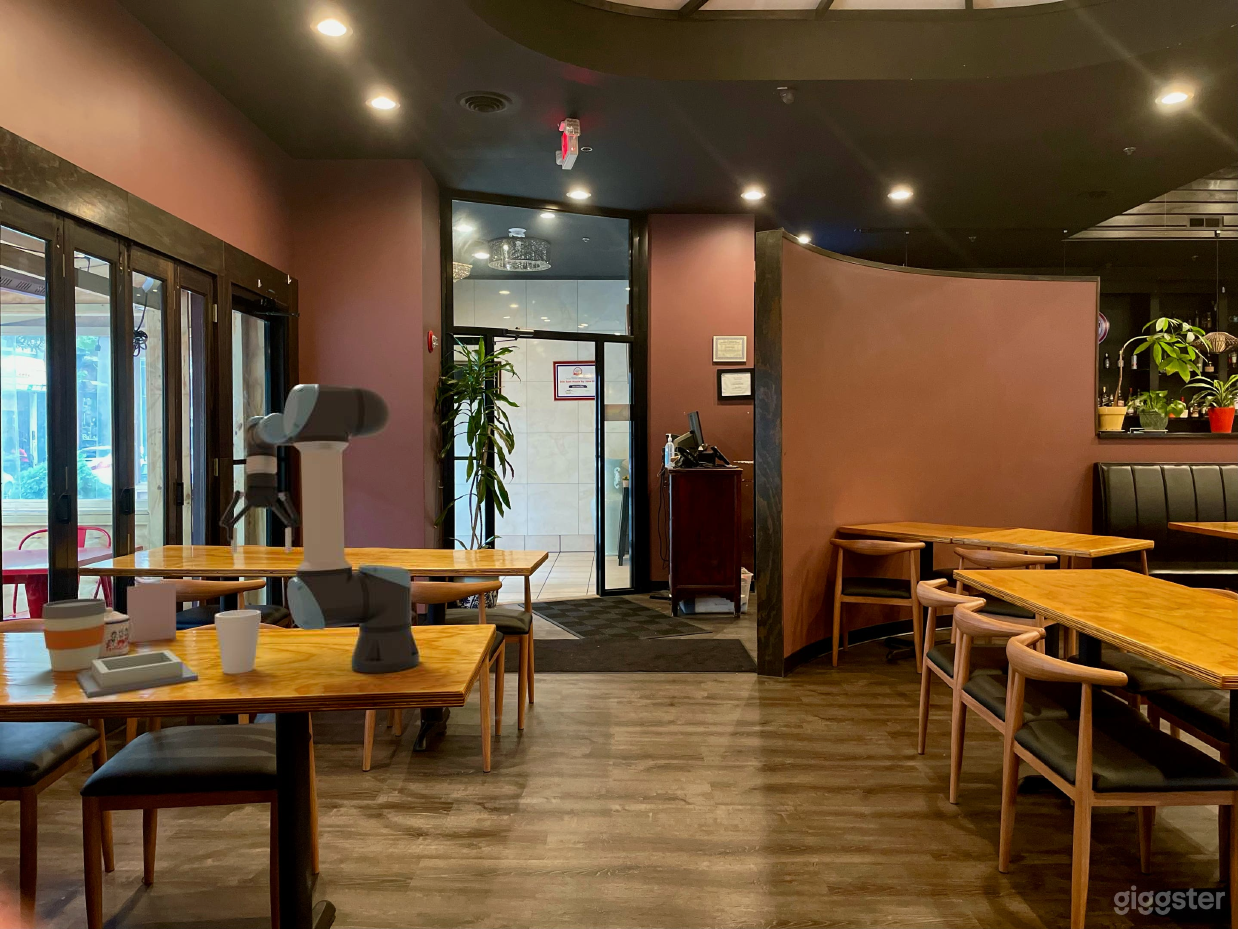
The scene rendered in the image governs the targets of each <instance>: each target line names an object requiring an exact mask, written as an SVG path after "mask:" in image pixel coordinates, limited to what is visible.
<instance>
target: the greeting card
mask: <svg viewBox="0 0 1238 929" xmlns="http://www.w3.org/2000/svg"><path fill="white" fill-rule="evenodd" d="M176 584H177V583H160V582H159V583H151V582H148V583H147V582H143V583H142V582H138V583H137V585H133V586H127V587H126V591H127V592H126V596H127V597H126V605H127V606H126V607H127V608H126V609H127V610H126V611H127V612H126V613H127V614H126V615H128V616H129V618H130V620H129V621H130V622H131V623H132V625H133V632H132V635H131V637H130V638H129V643H137V642H147V641H156V640H157V641H158V640H168V639H171V640H172V639H177V598H176V597H177V585H176Z"/></svg>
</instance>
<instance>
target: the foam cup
mask: <svg viewBox="0 0 1238 929" xmlns="http://www.w3.org/2000/svg"><path fill="white" fill-rule="evenodd" d="M261 613H262V611H260V610H258V609H239V610H237V609H236V610H229V611H223V612H219V613H215V614H214V626H215V628H216V636H217V641H218V647H219V655H220V661H221V662H220V663H221V668H222V672H223V673H224V674H228V675H233V674H235V675H237V674H243V673H248V672H251V671H253V670H254V668H255V661H256V656H257V646H258V640H259V632H260V624H261V621H262V617H261V616H262V614H261Z"/></svg>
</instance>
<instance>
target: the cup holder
mask: <svg viewBox="0 0 1238 929" xmlns="http://www.w3.org/2000/svg"><path fill="white" fill-rule="evenodd" d="M76 679H77V681H78V683H79V685H80V686H81V688H82V690H83V691H84V693H85V694H86V696H87V698H93V697H98V696H99V697H100V696H106V695H112V694H117V693H124V692H130V691H137V690H143V689H149V688H155V687H161V686H167V685H174V684H180V683H187V682H193V681H198V680H199V674H197V673H196V672H195V671H193V669H191V668H190V667H189V666H188V665H186V664H185V663H184V662H183V660H182V659H180V658H179V657H178V656H176V655H175V653H173V652H172V651H171V650H169V649H165V650H159V651H151V652H143V653H142V652H141V653H136V654H128V655H120V656H114V657H107V658H98V660H92V667H91V671H88V672H79V673H76Z"/></svg>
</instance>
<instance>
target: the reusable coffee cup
mask: <svg viewBox="0 0 1238 929" xmlns="http://www.w3.org/2000/svg"><path fill="white" fill-rule="evenodd" d="M42 606H43V607H42V613H41V614H42V615H41V618H42V619H43V622H44V628H43V638H44V643H45V648H46V649H47V650H48V653H49V659H50V660H49V661H50V665H51V666H50V667H51V670H52V671H56V672H67V671H68V672H69V671H77V670H83V669H84V670H85V669H88V668H92V660H98V659H99V658H98V657H99V650H100V643H102V642H103V636H104V629H105V623H103V621H104V614H105V612H106V608H107V606H106V600H105V599H104V598H78V599H77V598H76V599H65V600H64V599H63V600H57V601H53V602H47V603H44V604H43V605H42Z"/></svg>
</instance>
